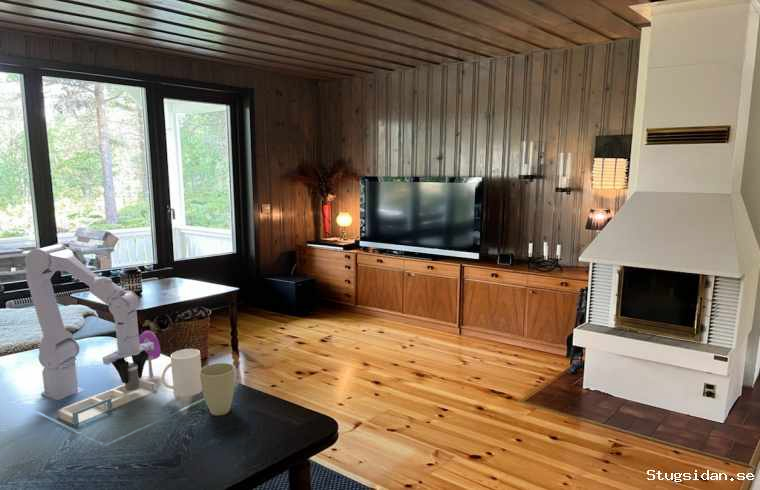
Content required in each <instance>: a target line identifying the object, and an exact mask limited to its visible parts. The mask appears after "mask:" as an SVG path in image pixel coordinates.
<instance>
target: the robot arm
mask: <svg viewBox="0 0 760 490" xmlns="http://www.w3.org/2000/svg"><path fill="white" fill-rule="evenodd" d="M24 263H25V266H26V273H25V279H26V282H27V286H28V289H29V292H30V296H31V299H32V303H33V305H34V309H35V313H36V315H37V318H38V319H37V320H38V323H39V326H40V328H41V333H42V335H43V336H42V338H41V340H40V341H39V343H38V345H37V346H38V347H37V348H38V362H39V364H40V365H41V366H42V367H43V369H42V380H43V388H44V389H43V390H44V391H42V392H41V393H40V394H41V395H42V396H45V397H49V398H51V399H53V400H55V401H56V400H57V401H59V400H62V399H65V398H66V397H70V396H72V395H75V394H77V393H80V392H82V391H85V389H84V388H81V387H79V384H78V376H77V366H76V361H77V356H78V355H79V353H80V345H79V343H78V342H77V341H76V339H75V338H74V335H73V333H72V332H70V331H68V330H67V329H65V326H64V322H63V318H62V316H61V311H60V309H59V305H58V302H57V298H56V295H55V294H56V293H55V292H54V288H53V284H52V281H51V278H52V277H53V275H54V274H55V273H56V272H63V271H64V272H66V273H68V274H70V275H71V276H73V277H75V278H76V279H78V280H79V281H81V282H82V283H84V284H85V285H87V286H89V293H90V294H92V295H93V296H95V297H96V298H97V299H98V300H100V301H101V302H103V303H104V304H106V305H107V306H108V310H109V313H110V314H111V315H112V316H113V321H114V324H115V333H116V334H115V335H116V344H117V345H116V346H117V350H116V351H114V352H113V351H112V353H109V354H106V355H104V356H102V363H103V364H104V365H106V366H108V365H110V364H111V365H112V366H113V367H114V368H115V370H116V371H117V374H118V376H119V377H120V380H121V382H122V384H127V383H128V365H129V363H130V362H129V361H126V358H128V357H131V360H132V363H137V364H138V376H139V378H142V377H143V372H144V368H145V365H146V362H147V361H146V360H147V358H148V353H146V352H145V351H147V350H153V349H154V343H152V342H148V343H143V344H139V338H140V333H139V324H138V312H137V310H138V308H139V307H140V305H141V301H140V298H139V297H140V296H138V295H137V294H136V292H134V291H131V290H128V291H127V290H126V289H124V288H121V287H120V286H119V285H117V284H116V283H115V282H113V279H112V278H111V277H107V276H98V275H97V274H96V273H94V272H93V271H92V270H91V269H90V268H89V267H87V265H85V264H84V263H83V262H81V261H80V260H79V259H78V258H77V257H76V255H74V252H73V251H72V250H71V249H69V248H68V247H67V246H65V245H64V244H63V243H62V244H61V243H55V244H52V245H49V246H44V247H39V248H33V249H31V250H30V251H28V253H27V255H26V256H25V257H24ZM142 379H143V378H142Z"/></svg>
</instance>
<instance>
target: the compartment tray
mask: <svg viewBox="0 0 760 490" xmlns="http://www.w3.org/2000/svg"><path fill="white" fill-rule="evenodd" d="M156 391H158V385H157V382H153V381H151V380H147V379H145V378H139V388H138V389H136V390H132V391H128V390H126V386H125V383H122V384H121V385H118V386H116V387H113V388H111V389H108V390H106V391H103V392H101V393H97V394H95V395H93V396H90V397H87V398H84V399H82V400H79V401H75V403H72V404H69V405H66V406H63V407H61V408H59V409H57V410H56V411H57V417H58V418H59V419H61V420H64V421H66V422H68V423H69V424H72V425H73V426H76V425H77V426H78V425H79V424H80V423H82V422H83V421H86V420H89V419H91V418H94V417H96V416H99V415H100V414H101V415H102V414H104V413H106V412H111V411H113V409H115V408H118V407H120V406H122V405H125V404H128V403H129V402H131V401H135V400H138V399H139V398H142V397H144V396H146V395H149V394H151V393H154V392H156Z"/></svg>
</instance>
